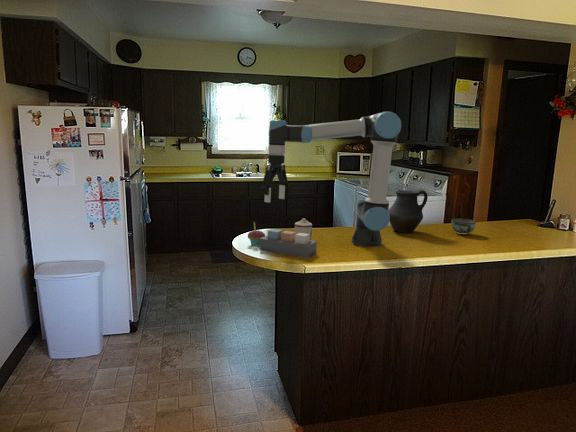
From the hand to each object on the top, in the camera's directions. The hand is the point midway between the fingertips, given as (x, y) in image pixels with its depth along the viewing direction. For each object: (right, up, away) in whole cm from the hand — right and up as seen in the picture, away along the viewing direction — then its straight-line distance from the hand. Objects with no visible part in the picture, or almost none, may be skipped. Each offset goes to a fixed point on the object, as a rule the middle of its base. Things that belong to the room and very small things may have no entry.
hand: (274, 200), depth 205 cm
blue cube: (0, -19, 0) cm, 19 cm away
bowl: (+107, -18, +50) cm, 120 cm away
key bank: (+6, -24, -2) cm, 24 cm away
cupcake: (-9, -21, +7) cm, 24 cm away
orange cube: (+6, -20, -3) cm, 21 cm away
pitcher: (+74, -16, +51) cm, 92 cm away
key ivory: (+13, -20, -6) cm, 25 cm away
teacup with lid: (+13, -20, +20) cm, 31 cm away
